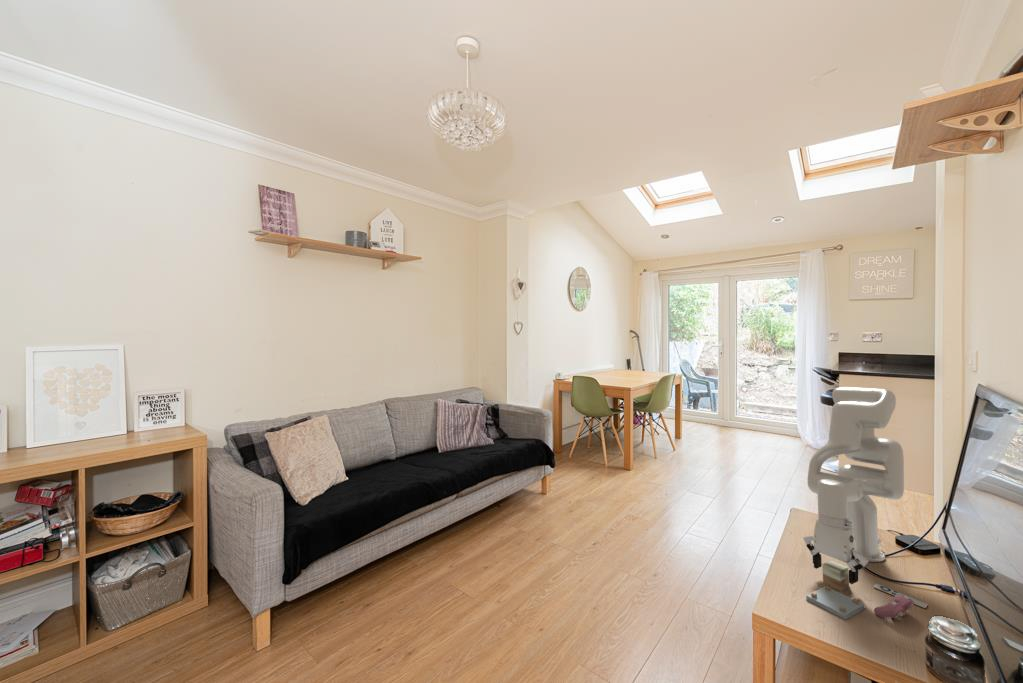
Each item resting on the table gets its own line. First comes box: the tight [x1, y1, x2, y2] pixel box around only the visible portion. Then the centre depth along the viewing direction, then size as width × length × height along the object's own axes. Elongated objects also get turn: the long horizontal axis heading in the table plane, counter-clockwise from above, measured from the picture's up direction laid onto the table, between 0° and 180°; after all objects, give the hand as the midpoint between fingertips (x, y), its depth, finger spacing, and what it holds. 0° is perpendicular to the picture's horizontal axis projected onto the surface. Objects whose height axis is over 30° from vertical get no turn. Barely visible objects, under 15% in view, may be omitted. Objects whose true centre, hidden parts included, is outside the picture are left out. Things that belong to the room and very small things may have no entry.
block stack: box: [821, 560, 850, 592], centre depth 127 cm, size 5×5×6 cm
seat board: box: [805, 584, 866, 620], centre depth 118 cm, size 10×10×2 cm
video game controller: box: [873, 594, 915, 620], centre depth 112 cm, size 10×5×7 cm, turn 114°
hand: (834, 574), depth 127 cm, fingers open, 9 cm apart
